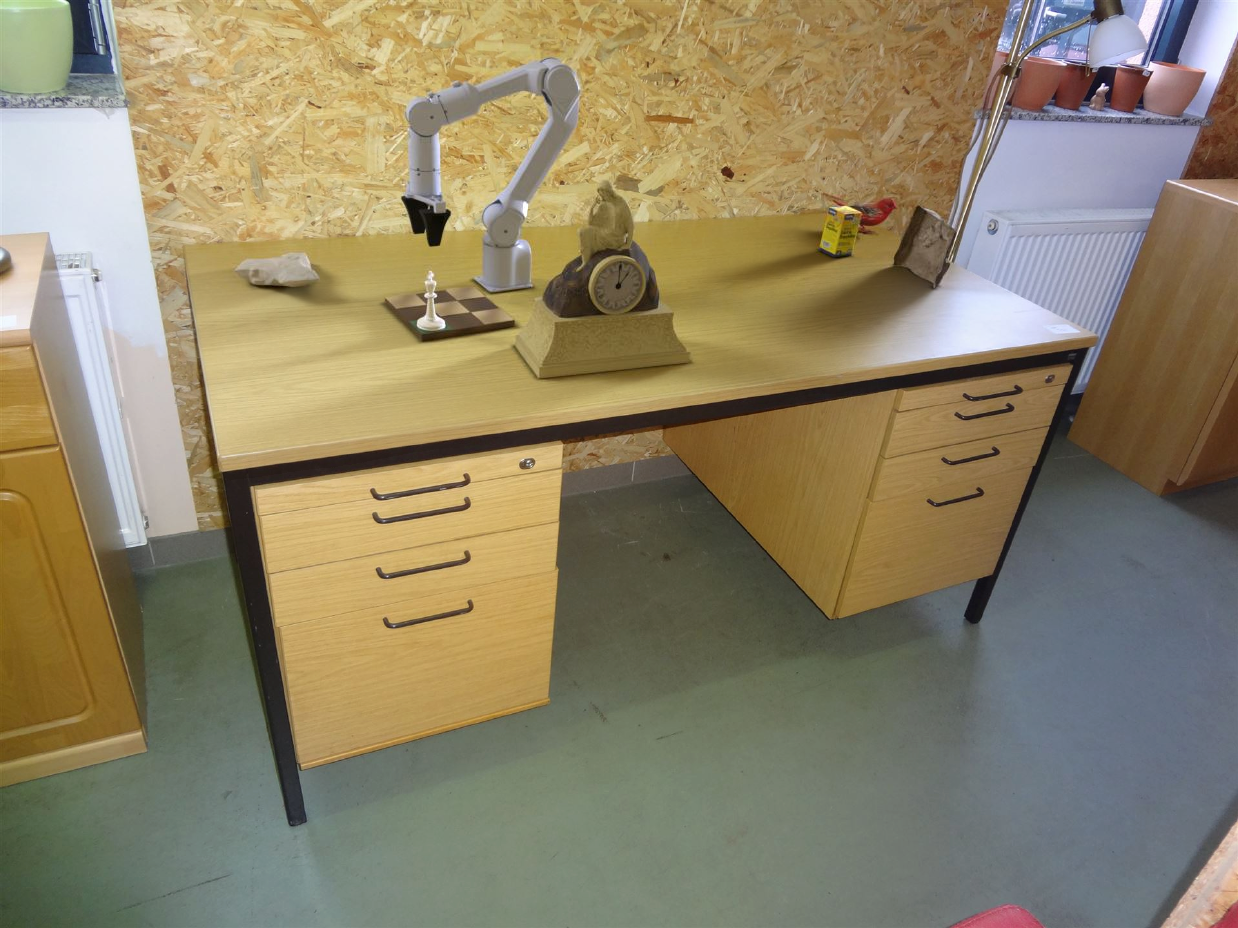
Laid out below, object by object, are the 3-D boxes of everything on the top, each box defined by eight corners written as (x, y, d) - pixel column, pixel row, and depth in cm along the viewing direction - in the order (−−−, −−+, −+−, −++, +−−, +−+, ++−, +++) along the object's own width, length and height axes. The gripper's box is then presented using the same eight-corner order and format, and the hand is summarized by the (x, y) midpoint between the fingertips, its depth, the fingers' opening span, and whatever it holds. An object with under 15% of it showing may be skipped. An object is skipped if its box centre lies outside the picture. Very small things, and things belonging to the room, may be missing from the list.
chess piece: (450, 324, 154) (450, 270, 149) (435, 333, 150) (435, 278, 145) (426, 317, 156) (425, 264, 150) (411, 327, 152) (409, 272, 146)
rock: (236, 306, 156) (322, 295, 160) (230, 281, 153) (317, 271, 158) (241, 272, 173) (318, 263, 177) (235, 250, 171) (313, 241, 175)
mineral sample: (891, 264, 212) (908, 203, 204) (904, 264, 213) (922, 203, 205) (934, 290, 199) (954, 225, 191) (948, 289, 200) (968, 225, 192)
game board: (472, 292, 172) (472, 285, 171) (514, 326, 159) (514, 319, 159) (385, 303, 162) (384, 297, 162) (421, 341, 150) (421, 334, 150)
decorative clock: (538, 378, 142) (547, 195, 126) (515, 346, 152) (520, 172, 136) (688, 362, 153) (714, 192, 137) (657, 333, 163) (678, 171, 147)
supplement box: (834, 258, 212) (844, 213, 206) (818, 250, 216) (828, 206, 211) (852, 256, 215) (862, 212, 209) (835, 248, 219) (846, 205, 213)
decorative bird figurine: (888, 239, 231) (898, 201, 226) (825, 223, 238) (834, 187, 232) (891, 236, 233) (901, 199, 228) (829, 221, 240) (837, 185, 235)
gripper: (389, 159, 163) (392, 230, 170) (419, 179, 153) (421, 253, 160) (425, 157, 166) (426, 226, 174) (456, 177, 156) (456, 250, 164)
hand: (426, 239), depth 167 cm, fingers open, 7 cm apart
